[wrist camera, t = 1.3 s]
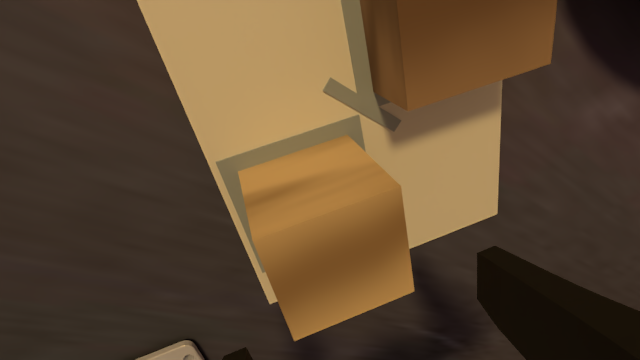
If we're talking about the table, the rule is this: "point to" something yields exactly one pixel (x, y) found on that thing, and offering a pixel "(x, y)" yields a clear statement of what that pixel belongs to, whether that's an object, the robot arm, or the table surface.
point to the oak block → (328, 233)
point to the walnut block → (452, 45)
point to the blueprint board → (321, 107)
